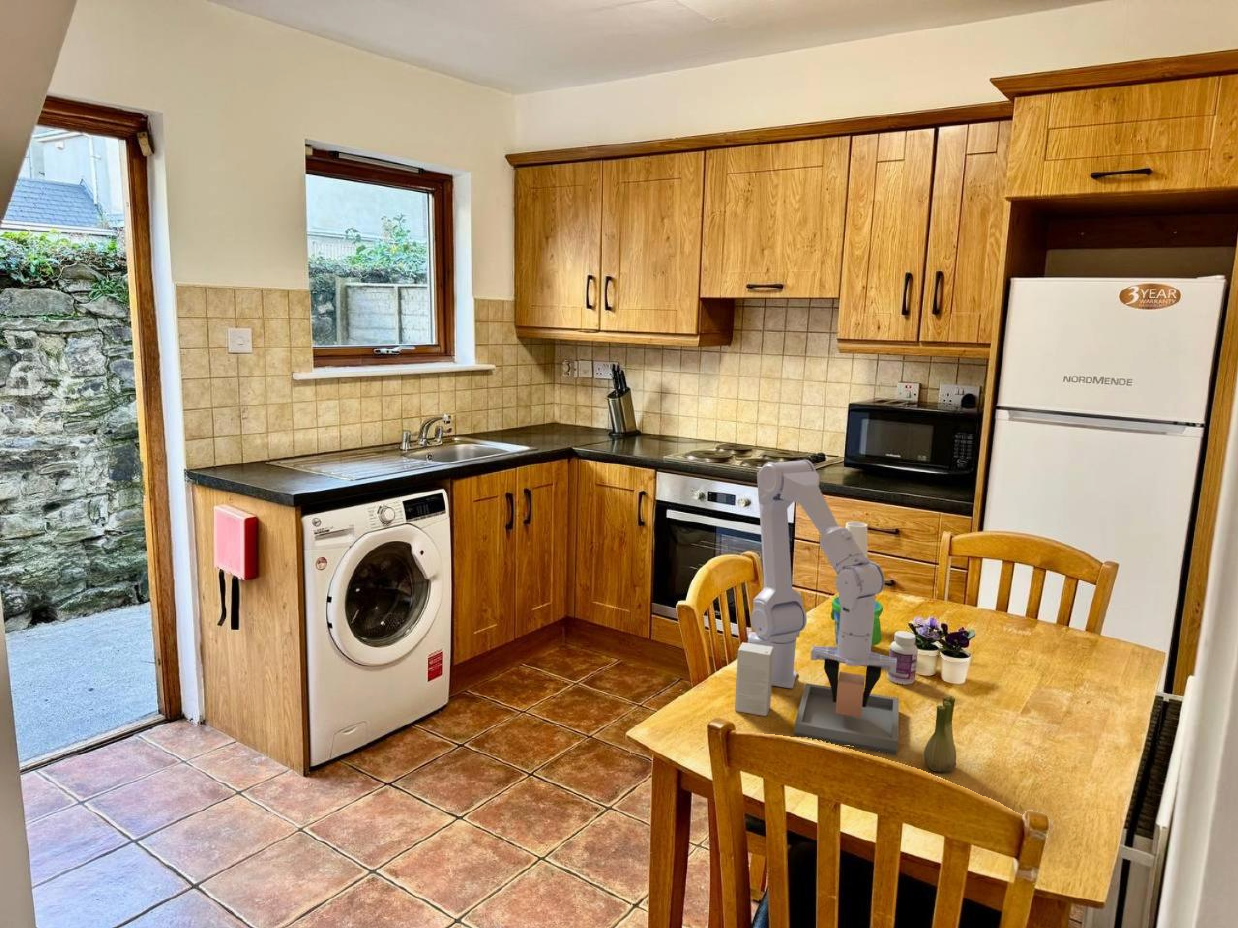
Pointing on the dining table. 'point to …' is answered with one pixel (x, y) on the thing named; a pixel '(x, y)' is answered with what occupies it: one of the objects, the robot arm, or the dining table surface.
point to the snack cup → (876, 625)
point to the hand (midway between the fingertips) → (849, 702)
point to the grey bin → (848, 721)
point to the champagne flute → (859, 535)
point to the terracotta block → (850, 694)
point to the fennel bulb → (942, 740)
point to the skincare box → (754, 679)
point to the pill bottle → (903, 658)
